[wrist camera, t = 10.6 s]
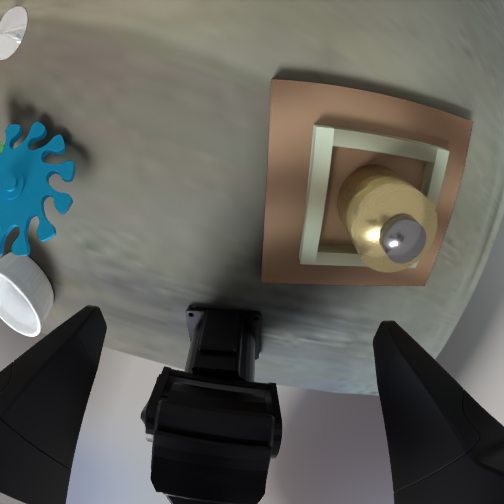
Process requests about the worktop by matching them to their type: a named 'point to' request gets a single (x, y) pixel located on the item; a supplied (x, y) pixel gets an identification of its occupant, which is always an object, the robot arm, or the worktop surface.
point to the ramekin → (24, 294)
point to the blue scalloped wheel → (29, 185)
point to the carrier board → (340, 167)
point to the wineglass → (12, 31)
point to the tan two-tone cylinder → (386, 218)
